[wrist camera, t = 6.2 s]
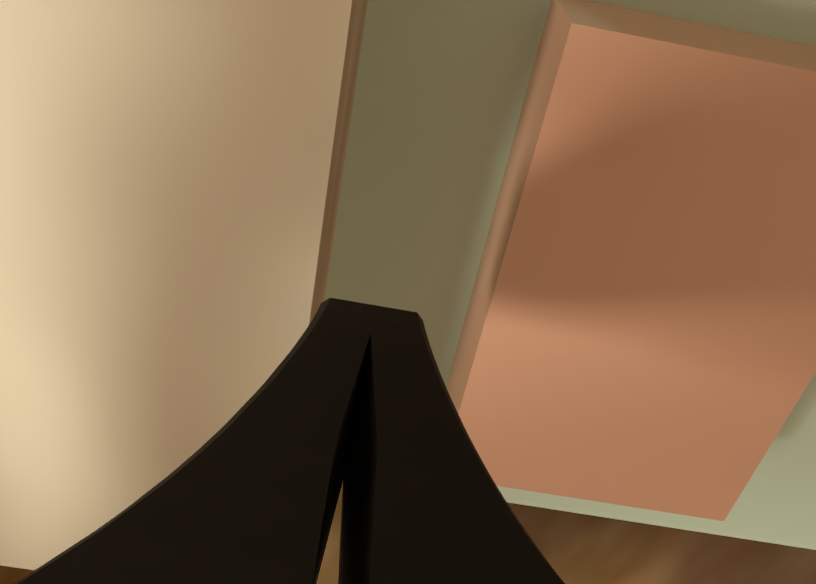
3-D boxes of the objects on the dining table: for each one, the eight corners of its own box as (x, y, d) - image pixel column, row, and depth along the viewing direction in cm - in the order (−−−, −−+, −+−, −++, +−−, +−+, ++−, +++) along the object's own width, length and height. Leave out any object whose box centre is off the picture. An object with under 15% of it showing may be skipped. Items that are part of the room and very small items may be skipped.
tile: (723, 521, 15) (695, 451, 17) (980, 104, 11) (906, 64, 12) (440, 476, 15) (440, 410, 17) (571, 23, 10) (553, -7, 12)
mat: (303, 458, 18) (300, 470, 18) (402, -228, 11) (400, -229, 10) (843, 542, 19) (850, 555, 19) (1283, -35, 12) (1309, -30, 11)
